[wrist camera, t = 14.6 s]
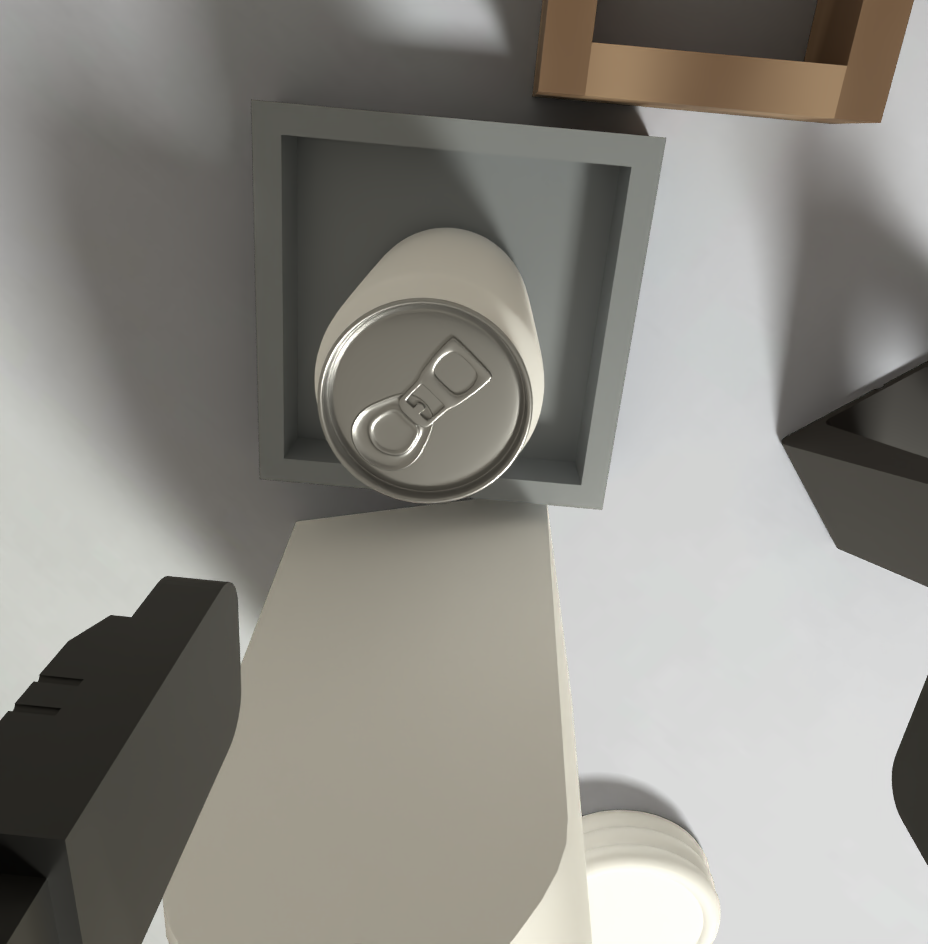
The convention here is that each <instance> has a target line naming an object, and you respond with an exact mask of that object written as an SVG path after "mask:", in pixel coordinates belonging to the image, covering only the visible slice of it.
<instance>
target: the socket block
mask: <svg viewBox="0 0 928 944" xmlns="http://www.w3.org/2000/svg"><path fill="white" fill-rule="evenodd" d="M597 1H598V0H543V1H542V10H541V20H540V29H539V38H538V48H537V57H536V66H535V76H534V85H533V94H532V96H534V97H545V98H556V99H567V100H578V101H589V102H599V103H610V104H621V105H632V106H643V107H654V108H665V109H676V110H687V111H697V112H708V113H719V114H730V115H741V116H752V117H763V118H774V119H785V120H795V121H806V122H817V123H828V124H844V123H881V120H882V116H883V112H884V109H885V105H886V101H887V98H888V94H889V90H890V87H891V83H892V79H893V76H894V72H895V68H896V64H897V61H898V57H899V53H900V50H901V46H902V42H903V39H904V35H905V31H906V28H907V24H908V20H909V17H910V13H911V9H912V5H913V2H914V0H818V2H817V6H816V10H815V15H814V19H813V23H812V28H811V32H810V37H809V41H808V45H807V50H806V54H805V58H804V62H800V61H789V60H778V59H767V58H756V57H745V56H735V55H724V54H713V53H702V52H691V51H680V50H669V49H659V48H648V47H637V46H626V45H615V44H604V43H593V42H592V39H593V31H594V23H595V16H596V8H597Z"/></svg>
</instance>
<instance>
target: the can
mask: <svg viewBox="0 0 928 944" xmlns="http://www.w3.org/2000/svg"><path fill="white" fill-rule="evenodd" d="M315 394H316V400H317V404H318V413H319V418H320V422H321V426H322V429H323V432H324V435H325V437H326V439H327V442H328V444H329V445H330V447H331V449H332V451H333V452H334V454H335V455H336V457H337V458H338V459H339V461H340V462H341V463H342V464H343V466H344V467H345V468H346V469H347V470H348V471H349V472H350V473H351V474H352V475H353V476H355V477H356V478H357V479H358V480H360V481H361V482H362V483H364V484H365V485H367V486H368V487H370V488H372V489H373V490H375V491H377V492H379V493H382V494H384V495H386V496H389V497H392V498H395V499H398V500H402V501H407V502H413V503H425V504H432V503H444V502H450V501H454V500H458V499H461V498H465V497H467V496H470V495H472V494H474V493H476V492H479V491H480V490H482V489H484V488H486V487H487V486H489V485H490V484H492V483H493V482H494V481H496V480H497V479H498V478H499V477H500V476H501V475H502V474H503V473H504V472H505V471H506V470H507V469H508V468H509V467H510V466H511V465H512V463H513V462H514V461H515V459H516V458H517V456H518V455H519V453H520V452H521V450H522V449H523V448H524V446H525V445H526V443H527V442H528V440H529V439H530V437H531V435H532V433H533V431H534V429H535V427H536V424H537V422H538V419H539V416H540V412H541V408H542V403H543V395H544V370H543V362H542V356H541V351H540V346H539V341H538V336H537V332H536V327H535V323H534V319H533V314H532V310H531V306H530V302H529V298H528V294H527V291H526V287H525V284H524V282H523V279H522V277H521V275H520V273H519V271H518V269H517V267H516V266H515V264H514V263H513V262H512V260H511V259H510V258H509V257H508V255H507V254H506V253H505V252H504V251H503V250H502V249H501V248H499V247H498V246H497V245H496V244H494V243H493V242H492V241H490V240H488V239H487V238H485V237H483V236H481V235H479V234H476V233H474V232H471V231H468V230H463V229H458V228H434V229H429V230H425V231H421V232H418V233H416V234H413V235H411V236H409V237H407V238H405V239H404V240H402V241H401V242H399V243H398V244H396V245H395V246H394V247H393V248H392V249H391V250H390V251H388V252H387V253H386V254H385V255H384V257H383V258H382V259H381V260H380V261H379V262H378V263H377V264H376V266H375V267H374V268H373V269H372V270H371V271H370V273H369V274H368V275H367V276H366V277H365V278H364V280H363V281H362V282H361V283H360V284H359V286H358V287H357V288H356V289H355V290H354V292H353V293H352V294H351V295H350V297H349V298H348V299H347V300H346V301H345V303H344V304H343V305H342V307H341V308H340V309H339V311H338V312H337V313H336V315H335V316H334V318H333V320H332V321H331V323H330V324H329V326H328V328H327V330H326V332H325V334H324V337H323V339H322V342H321V345H320V348H319V351H318V355H317V360H316V366H315Z"/></svg>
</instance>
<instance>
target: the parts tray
mask: <svg viewBox="0 0 928 944" xmlns="http://www.w3.org/2000/svg"><path fill="white" fill-rule="evenodd" d="M251 117H252V161H253V206H254V250H255V295H256V340H257V384H258V429H259V473H260V479H264V480H275V481H286V482H297V483H309V484H320V485H331V486H342V487H353V488H364V489H372V488H370V487H368V486H367V485H365V484H364V483H362V482H361V481H360V480H358V479H357V478H356V477H355V476H353V475H352V474H351V473H350V472H349V471H348V470H347V469H346V468H345V467H344V466H343V464H342V463H341V462H340V461H339V459H338V458H337V457H336V455H335V454H334V452H333V451H332V449H331V447H330V445H329V444H328V442H327V439H326V437H325V435H324V432H323V429H322V426H321V422H320V418H319V413H318V404H317V400H316V394H315V366H316V360H317V355H318V351H319V348H320V345H321V342H322V339H323V337H324V334H325V332H326V330H327V328H328V326H329V324H330V323H331V321H332V320H333V318H334V316H335V315H336V313H337V312H338V311H339V309H340V308H341V307H342V305H343V304H344V303H345V301H346V300H347V299H348V298H349V297H350V295H351V294H352V293H353V292H354V290H355V289H356V288H357V287H358V286H359V284H360V283H361V282H362V281H363V280H364V278H365V277H366V276H367V275H368V274H369V273H370V271H371V270H372V269H373V268H374V267H375V266H376V264H377V263H378V262H379V261H380V260H381V259H382V258H383V257H384V255H385V254H386V253H387V252H388V251H390V250H391V249H392V248H393V247H394V246H395V245H396V244H398V243H399V242H401V241H402V240H404V239H405V238H407V237H409V236H411V235H413V234H416V233H418V232H421V231H425V230H429V229H434V228H458V229H463V230H468V231H471V232H474V233H476V234H479V235H481V236H483V237H485V238H487V239H488V240H490V241H492V242H493V243H494V244H496V245H497V246H498V247H499V248H501V249H502V250H503V251H504V252H505V253H506V254H507V255H508V257H509V258H510V259H511V260H512V262H513V263H514V264H515V266H516V267H517V269H518V271H519V273H520V275H521V277H522V279H523V282H524V284H525V287H526V291H527V294H528V298H529V302H530V306H531V310H532V314H533V319H534V323H535V327H536V332H537V336H538V341H539V346H540V351H541V356H542V362H543V370H544V395H543V403H542V408H541V412H540V416H539V419H538V422H537V424H536V427H535V429H534V431H533V433H532V435H531V437H530V439H529V440H528V442H527V443H526V445H525V446H524V448H523V449H522V450H521V452H520V453H519V455H518V456H517V458H516V459H515V461H514V462H513V463H512V465H511V466H510V467H509V468H508V469H507V470H506V471H505V472H504V473H503V474H502V475H501V476H500V477H499V478H498V479H497V480H496V481H494V482H493V483H492V484H490V485H489V486H487V487H486V488H484V489H482V490H480V491H479V492H476V493H474V494H472V495H470V496H467V497H465V498H476V499H487V500H498V501H509V502H520V503H531V504H543V505H554V506H565V507H576V508H587V509H598V510H602V508H603V502H604V496H605V490H606V485H607V479H608V473H609V467H610V461H611V456H612V450H613V444H614V438H615V432H616V426H617V421H618V415H619V409H620V403H621V397H622V392H623V386H624V380H625V374H626V368H627V363H628V357H629V351H630V345H631V339H632V334H633V328H634V322H635V316H636V310H637V305H638V299H639V293H640V287H641V281H642V276H643V270H644V264H645V258H646V252H647V247H648V241H649V235H650V229H651V223H652V218H653V212H654V206H655V200H656V194H657V189H658V183H659V177H660V171H661V165H662V160H663V154H664V148H665V142H666V138H663V137H652V136H641V135H631V134H620V133H609V132H598V131H587V130H576V129H565V128H554V127H543V126H532V125H521V124H511V123H500V122H489V121H478V120H467V119H456V118H445V117H434V116H423V115H412V114H402V113H391V112H380V111H369V110H358V109H347V108H336V107H325V106H314V105H303V104H292V103H282V102H271V101H260V100H251Z"/></svg>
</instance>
